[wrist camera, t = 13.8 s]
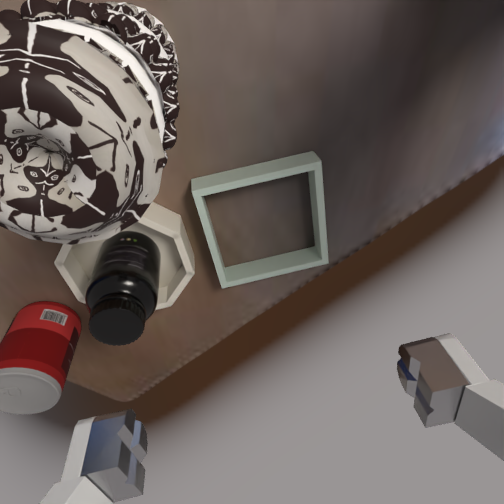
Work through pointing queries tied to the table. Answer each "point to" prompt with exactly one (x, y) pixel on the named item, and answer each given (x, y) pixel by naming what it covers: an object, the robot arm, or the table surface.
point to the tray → (257, 175)
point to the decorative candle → (83, 117)
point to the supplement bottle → (123, 287)
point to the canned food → (37, 357)
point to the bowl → (161, 232)
